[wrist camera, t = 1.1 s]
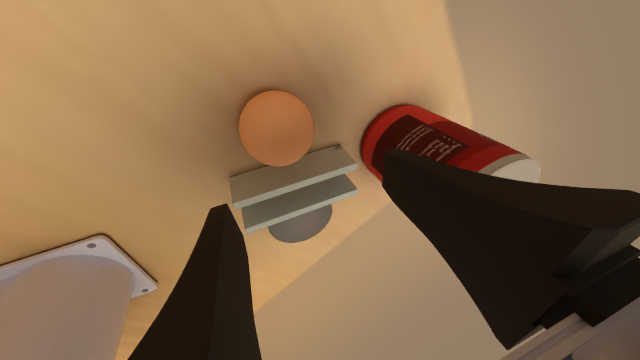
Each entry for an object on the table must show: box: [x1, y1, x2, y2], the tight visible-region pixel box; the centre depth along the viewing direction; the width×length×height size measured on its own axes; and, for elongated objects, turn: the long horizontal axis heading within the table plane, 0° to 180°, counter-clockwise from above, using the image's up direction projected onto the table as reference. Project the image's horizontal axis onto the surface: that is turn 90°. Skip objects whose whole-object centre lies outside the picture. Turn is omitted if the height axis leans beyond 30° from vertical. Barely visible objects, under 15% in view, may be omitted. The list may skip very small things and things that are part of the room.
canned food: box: [361, 105, 541, 183], centre depth 20 cm, size 8×8×11 cm
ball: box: [239, 90, 314, 166], centre depth 16 cm, size 5×5×5 cm
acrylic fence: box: [229, 144, 358, 234], centre depth 20 cm, size 10×3×4 cm, turn 98°
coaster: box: [268, 204, 332, 243], centre depth 25 cm, size 7×7×1 cm
